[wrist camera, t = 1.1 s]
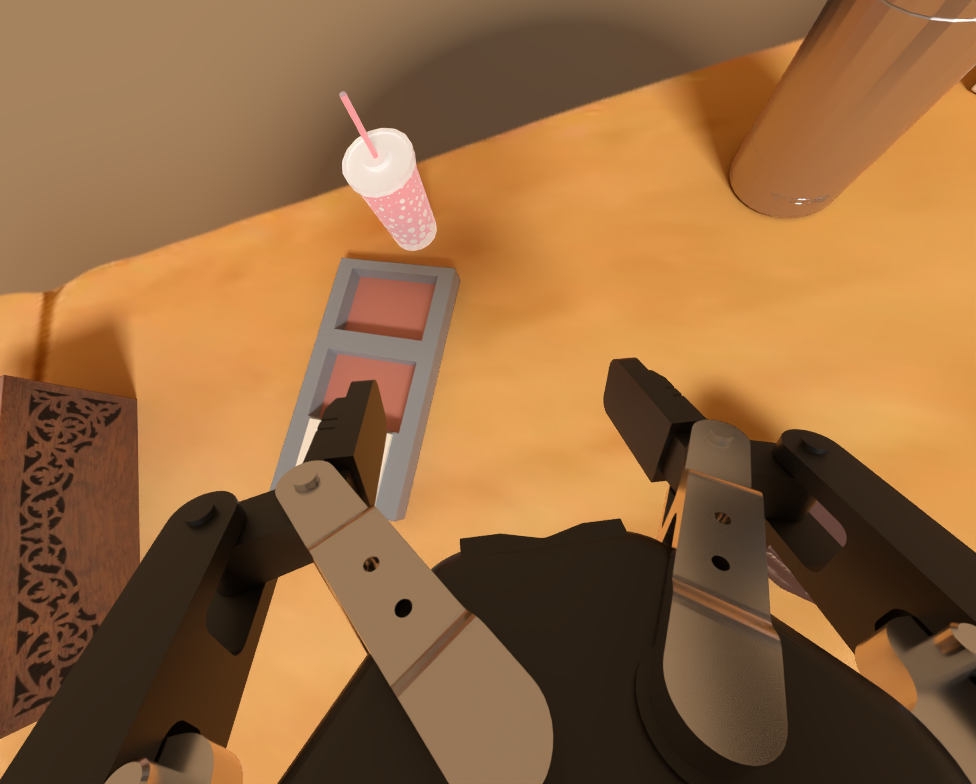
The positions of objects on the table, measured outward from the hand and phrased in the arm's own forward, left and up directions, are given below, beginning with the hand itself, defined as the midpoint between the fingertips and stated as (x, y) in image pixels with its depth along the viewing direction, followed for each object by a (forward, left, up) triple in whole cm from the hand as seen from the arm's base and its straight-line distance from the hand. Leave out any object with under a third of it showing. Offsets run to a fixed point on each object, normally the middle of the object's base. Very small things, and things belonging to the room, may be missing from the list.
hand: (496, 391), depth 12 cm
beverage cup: (-20, -15, -19) cm, 31 cm away
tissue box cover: (+18, -42, -19) cm, 50 cm away
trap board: (-3, -15, -19) cm, 25 cm away
